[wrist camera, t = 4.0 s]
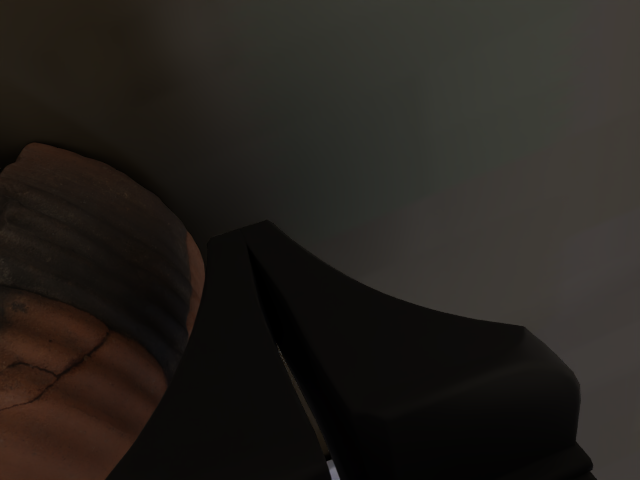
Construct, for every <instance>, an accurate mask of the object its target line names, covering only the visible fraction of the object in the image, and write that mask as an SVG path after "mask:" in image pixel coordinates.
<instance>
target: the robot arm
mask: <svg viewBox="0 0 640 480" xmlns="http://www.w3.org/2000/svg"><path fill="white" fill-rule="evenodd" d="M207 249H208V257H207V268H206V276H205V281H204V286H203V291H202V296H201V301H200V305H199V308H198V312H197V315H196V318H195V322H194V325H193V329H192V332H191V335H190V337H189V340H188V343H187V346H186V348H185V351H184V353H183V355H182V358H181V360H180V363H179V365H178V367H177V369H176V371H175V373H174V375H173V377H172V379H171V381H170V383H169V385H168V387H167V389H166V391H165V393H164V395H163V397H162V399H161V400H160V402H159V404H158V406H157V407H156V409H155V410H154V412H153V414H152V415H151V417H150V418H149V420H148V421H147V423H146V425H145V426H144V428H143V429H142V431H141V432H140V434H139V436H138V437H137V439H136V440H135V442H134V443H133V444H132V446H131V447H130V449H129V450H128V451H127V452H126V454H125V455H124V456H123V457H122V459H121V460H120V461H119V462H118V464H117V465H116V466H115V467H114V469H113V470H112V471H111V472H110V474H109V475H108V476H107V477H106V479H105V480H597V479H596V478H595V477H594V476H593V474H592V473H591V472H590V471H591V470H592V468H593V463H592V461H591V459H590V457H589V456H588V455H587V454H586V453H585V452H584V450H583V449H582V448H581V447H580V446H579V444H578V443H577V442H576V434H577V426H578V418H579V410H580V402H581V394H580V384H579V382H578V380H577V378H576V376H575V374H574V372H573V371H572V370H571V369H570V368H569V367H568V366H567V365H566V364H565V363H564V362H563V361H562V360H561V359H560V358H559V357H558V356H557V355H556V354H555V353H554V352H553V351H552V350H551V349H550V348H549V347H548V346H547V345H546V344H544V343H543V342H542V341H541V340H539V339H538V338H537V337H536V336H534V335H533V334H532V333H531V332H530V331H529V330H528V329H526V328H525V327H524V326H518V325H511V324H504V323H497V322H490V321H483V320H477V319H471V318H466V317H462V316H457V315H453V314H448V313H444V312H440V311H436V310H432V309H429V308H425V307H422V306H419V305H416V304H413V303H409V302H406V301H403V300H400V299H397V298H395V297H392V296H389V295H387V294H384V293H382V292H379V291H377V290H375V289H373V288H370V287H368V286H366V285H364V284H362V283H360V282H358V281H356V280H354V279H352V278H350V277H349V276H347V275H345V274H343V273H342V272H340V271H338V270H336V269H335V268H333V267H331V266H330V265H328V264H327V263H325V262H323V261H322V260H320V259H319V258H317V257H316V256H315V255H313V254H312V253H310V252H309V251H307V250H306V249H304V248H303V247H302V246H300V245H299V244H298V243H296V242H295V241H294V240H292V239H291V238H290V237H289V236H287V235H286V234H285V233H284V232H283V231H281V230H280V229H279V228H278V227H277V226H276V225H275V224H274V223H272V222H271V221H269V220H265V221H262V222H258V223H255V224H252V225H249V226H246V227H243V228H240V229H237V230H234V231H231V232H228V233H224V234H221V235H218V236H215V237H212V238H210V240H209V242H208V243H207ZM276 343H277V345H278V347H279V349H280V351H281V353H282V355H283V357H284V359H285V361H286V363H287V365H288V367H289V369H290V370H291V372H292V374H293V376H294V378H295V380H296V382H297V384H298V386H299V388H300V390H301V392H302V394H303V396H304V398H305V400H306V402H307V404H308V406H309V408H310V410H311V412H312V414H313V416H314V418H315V419H316V422H317V424H318V426H319V428H320V430H321V433H322V435H323V437H324V440H325V442H326V445H327V447H328V450H329V452H330V455H331V458H332V459H331V460H329V461H327V462H326V459H325V457H324V454H323V452H322V449H321V447H320V444H319V442H318V439H317V436H316V434H315V431H314V429H313V427H312V425H311V423H310V421H309V419H308V417H307V415H306V413H305V411H304V408H303V406H302V404H301V402H300V400H299V398H298V395H297V393H296V391H295V389H294V387H293V384H292V382H291V380H290V377H289V375H288V373H287V371H286V368H285V366H284V364H283V362H282V359H281V357H280V354H279V352H278V349H277V345H276Z"/></svg>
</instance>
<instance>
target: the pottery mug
mask: <svg viewBox="0 0 640 480" xmlns="http://www.w3.org/2000/svg"><path fill="white" fill-rule="evenodd" d="M204 281H205V269H204V262H203V259H202V256H201V253H200V250H199V248H198V246H197V244H196V243H195V241H194V240H193V238H192V236H191V235H190V233H189V232H188V231H187V230H186V228H185V226H184V224H183V223H182V221H181V220H180V219H179V218H178V217H177V216H176V215H175V214H174V213H173V212H172V211H171V210H170V209H169V208H167V207H166V206H165V205H164V204H163V202H162V201H161V200H160V198H159V197H157V196H156V195H155V194H154V193H152V192H150V191H148V190H147V189H145V188H143V187H142V186H140V185H139V184H138V183H136V182H135V181H133V180H132V179H131V178H130V177H129V176H127V175H126V174H124V173H123V172H120V171H118V170H116V169H114V168H113V167H111V166H109V165H107V164H105V163H103V162H100V161H98V160H95V159H91V158H87V157H83V156H81V155H79V154H77V153H74V152H71V151H68V150H65V149H61V148H56V147H53V146H50V145H45V144H40V143H35V142H34V143H30V144H28V145H26V146H25V148H24V149H23V150H22V151H21V153H20V154H19V156H18V158H17V160H16V162H15V163H12V164H9V165H7V166H6V167H5V168H4V169H3V170H2V172H1V174H0V480H105V479H106V477H107V476H108V475H109V474H110V472H111V471H112V470H113V469H114V467H115V466H116V465H117V464H118V462H119V461H120V460H121V459H122V457H123V456H124V455H125V454H126V452H127V451H128V450H129V449H130V447H131V446H132V444H133V443H134V442H135V440H136V439H137V437H138V436H139V434H140V432H141V431H142V429H143V428H144V426H145V425H146V423H147V421H148V420H149V418H150V417H151V415H152V414H153V412H154V410H155V409H156V407H157V406H158V404H159V402H160V400H161V399H162V397H163V395H164V393H165V391H166V389H167V387H168V385H169V383H170V381H171V379H172V377H173V375H174V373H175V371H176V369H177V367H178V365H179V363H180V360H181V358H182V355H183V353H184V351H185V348H186V346H187V343H188V340H189V337H190V335H191V332H192V329H193V325H194V322H195V318H196V315H197V312H198V308H199V305H200V301H201V296H202V291H203V286H204Z"/></svg>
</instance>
